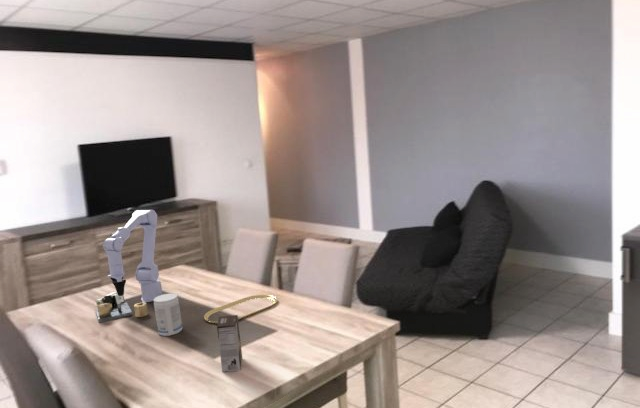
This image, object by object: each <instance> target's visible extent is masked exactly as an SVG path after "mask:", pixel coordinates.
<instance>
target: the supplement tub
mask: <svg viewBox="0 0 640 408" xmlns="http://www.w3.org/2000/svg"><path fill="white" fill-rule="evenodd" d="M153 307H154V314H155V320H156V327H157V332H158V334H159V335H160V336H163V337H169V336H174V335H176V334H179V333H180V332H182V330H183V322H182V315H181V308H180V303H179V297H178V294H176V293H163V295H160V296H158V297H156V298H154V301H153Z"/></svg>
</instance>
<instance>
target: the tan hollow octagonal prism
mask: <svg viewBox="0 0 640 408" xmlns="http://www.w3.org/2000/svg"><path fill="white" fill-rule="evenodd" d="M133 309H134V314H135V315H134V316H135V317H136V318H142V317H145V316H147V315H149V314H148V306H147V302H146V303H145V302H142V301H141V302H137V303H135V304H133Z"/></svg>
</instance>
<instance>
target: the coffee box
mask: <svg viewBox="0 0 640 408" xmlns="http://www.w3.org/2000/svg"><path fill="white" fill-rule="evenodd" d="M238 318H239V316H238V314H235V315H223V316H219V317H218V321H217V322H218V324H216V330H217V338H218V346H219V354H220V356H219V357H220V364H221V373H226V372H225V371H229V372H234V371H235V372H236V371H237V372H238V371H241V370H242V363H243V352H242V343H241V335H240V325H239V320H238Z"/></svg>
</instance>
